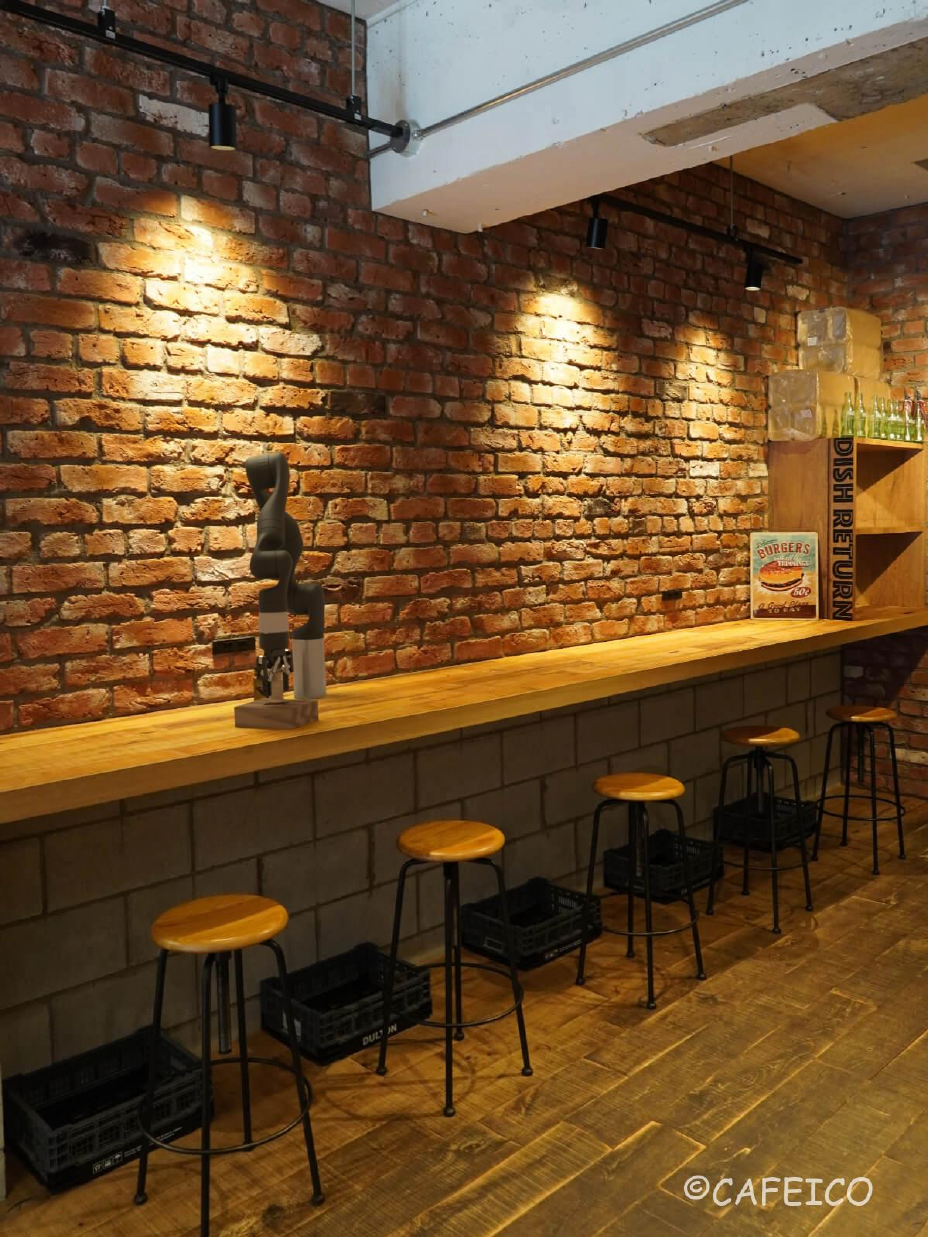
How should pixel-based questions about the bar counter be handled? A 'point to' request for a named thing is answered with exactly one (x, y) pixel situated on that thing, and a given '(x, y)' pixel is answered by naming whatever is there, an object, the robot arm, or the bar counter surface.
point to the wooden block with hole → (276, 714)
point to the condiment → (258, 687)
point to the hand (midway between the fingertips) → (276, 693)
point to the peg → (277, 689)
